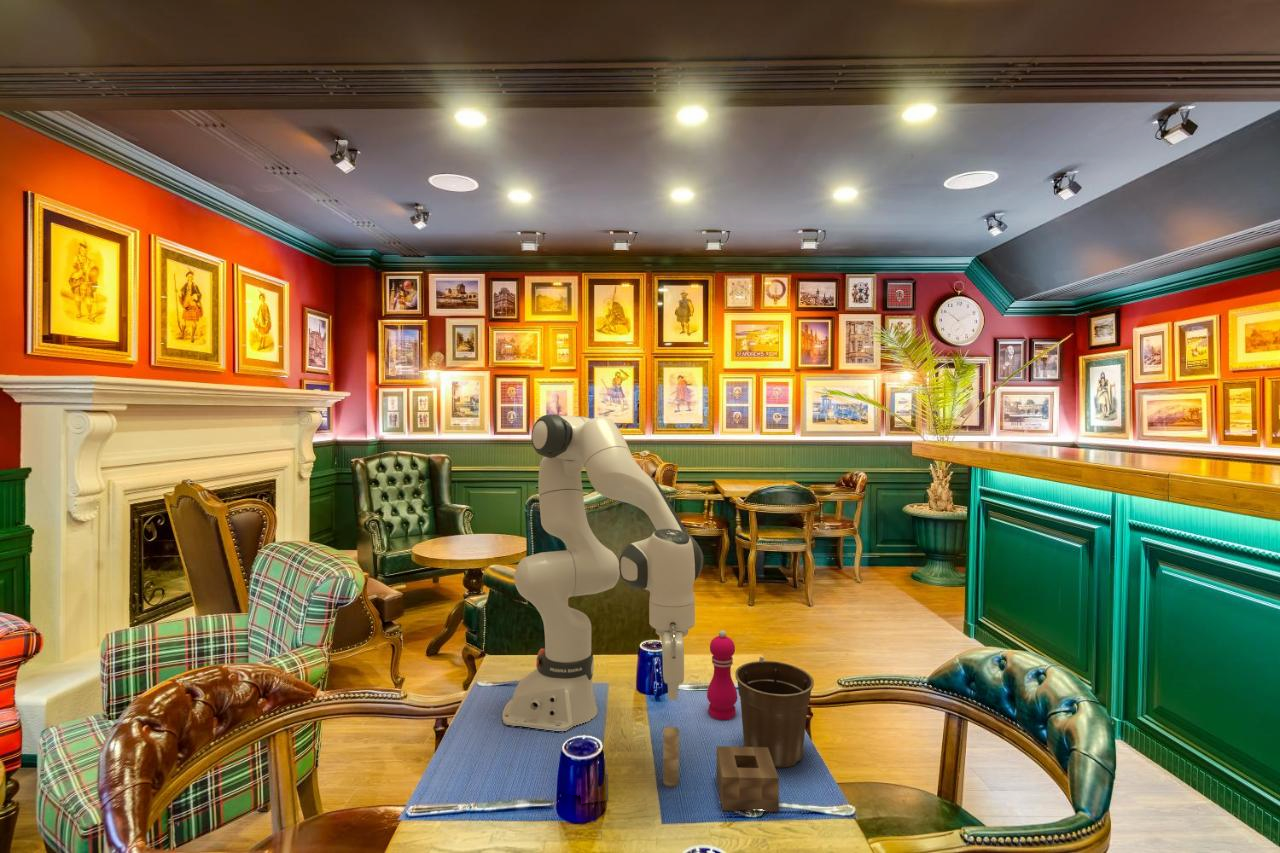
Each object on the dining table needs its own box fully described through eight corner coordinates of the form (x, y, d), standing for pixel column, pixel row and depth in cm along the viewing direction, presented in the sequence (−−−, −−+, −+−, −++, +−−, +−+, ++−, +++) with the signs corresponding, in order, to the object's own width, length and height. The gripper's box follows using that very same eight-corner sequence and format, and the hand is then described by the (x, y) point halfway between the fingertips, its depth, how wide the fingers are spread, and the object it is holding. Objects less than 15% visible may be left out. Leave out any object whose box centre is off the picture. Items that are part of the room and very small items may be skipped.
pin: (663, 786, 111) (663, 734, 111) (663, 777, 114) (663, 726, 114) (679, 787, 111) (679, 734, 111) (678, 777, 114) (678, 726, 114)
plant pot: (827, 772, 116) (827, 691, 116) (749, 778, 113) (749, 696, 113) (794, 729, 132) (794, 658, 132) (725, 734, 129) (725, 662, 129)
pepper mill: (736, 707, 142) (736, 625, 142) (738, 722, 135) (738, 636, 135) (706, 705, 143) (707, 624, 143) (707, 720, 136) (707, 635, 136)
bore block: (722, 810, 104) (722, 777, 104) (716, 776, 114) (716, 746, 114) (778, 811, 104) (778, 778, 104) (767, 777, 114) (767, 747, 114)
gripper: (692, 634, 102) (691, 713, 102) (685, 600, 122) (685, 665, 122) (655, 634, 102) (655, 713, 102) (655, 599, 122) (655, 665, 122)
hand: (672, 686), depth 112 cm, fingers open, 8 cm apart
